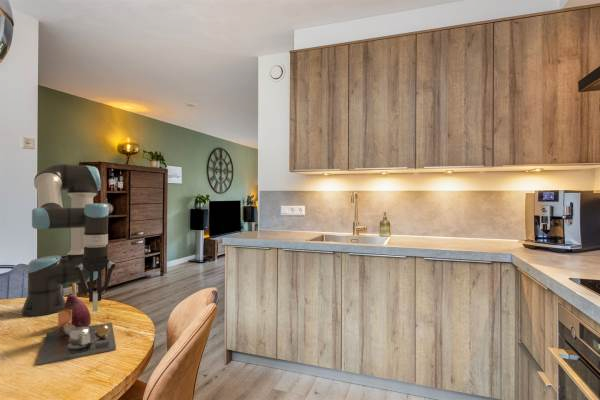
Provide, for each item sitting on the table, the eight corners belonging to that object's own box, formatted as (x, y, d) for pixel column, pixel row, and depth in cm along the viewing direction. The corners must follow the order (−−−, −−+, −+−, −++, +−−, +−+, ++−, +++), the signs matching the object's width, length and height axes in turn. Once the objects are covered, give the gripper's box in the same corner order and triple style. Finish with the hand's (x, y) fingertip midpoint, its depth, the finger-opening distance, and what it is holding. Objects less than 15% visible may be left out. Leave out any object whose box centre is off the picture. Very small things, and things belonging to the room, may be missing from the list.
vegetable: (75, 339, 125) (71, 304, 121) (52, 333, 127) (47, 298, 123) (97, 323, 135) (94, 289, 131) (76, 317, 137) (72, 284, 133)
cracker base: (47, 336, 120) (47, 315, 120) (111, 325, 131) (111, 306, 131) (38, 365, 99) (38, 339, 99) (115, 349, 109) (116, 326, 109)
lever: (95, 343, 108) (95, 321, 108) (76, 348, 104) (76, 326, 104) (71, 327, 121) (71, 308, 121) (54, 331, 117) (54, 311, 117)
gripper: (74, 248, 117) (73, 316, 117) (117, 246, 123) (116, 310, 124) (74, 245, 123) (74, 310, 123) (115, 243, 130) (114, 304, 130)
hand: (95, 310), depth 124 cm, fingers closed
